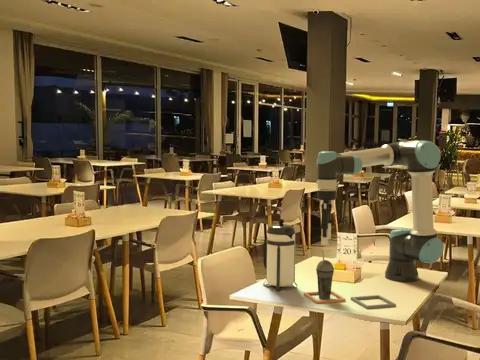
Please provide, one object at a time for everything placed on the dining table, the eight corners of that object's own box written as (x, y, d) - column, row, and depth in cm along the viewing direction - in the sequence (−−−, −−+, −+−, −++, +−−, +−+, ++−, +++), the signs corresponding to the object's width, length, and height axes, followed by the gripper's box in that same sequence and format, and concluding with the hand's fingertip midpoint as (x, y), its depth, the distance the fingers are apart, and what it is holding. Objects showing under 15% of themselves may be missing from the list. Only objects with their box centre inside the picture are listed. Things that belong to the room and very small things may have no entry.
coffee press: (300, 283, 252) (302, 217, 250) (293, 292, 237) (294, 222, 235) (263, 280, 257) (264, 215, 255) (253, 288, 242) (254, 219, 240)
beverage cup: (335, 300, 226) (336, 251, 225) (317, 300, 226) (318, 251, 224) (331, 295, 234) (332, 247, 232) (313, 295, 233) (314, 247, 231)
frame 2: (378, 297, 231) (378, 295, 231) (395, 306, 219) (395, 303, 219) (350, 299, 228) (350, 297, 228) (366, 308, 216) (366, 306, 215)
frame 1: (331, 292, 237) (331, 290, 237) (345, 301, 225) (345, 298, 225) (303, 294, 234) (303, 292, 234) (316, 303, 222) (316, 301, 221)
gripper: (320, 186, 239) (319, 236, 241) (314, 192, 215) (313, 247, 217) (338, 187, 237) (337, 236, 239) (334, 193, 213) (333, 248, 215)
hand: (326, 242), depth 228 cm, fingers open, 13 cm apart
